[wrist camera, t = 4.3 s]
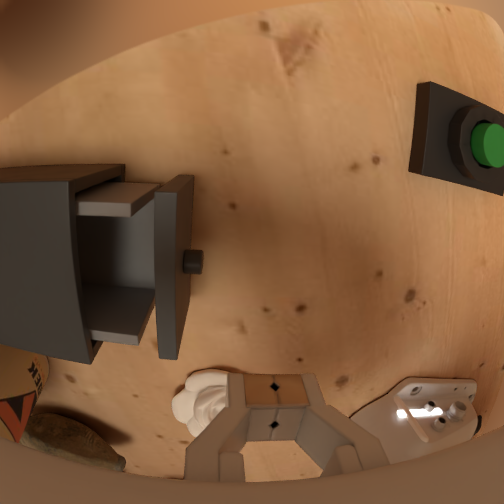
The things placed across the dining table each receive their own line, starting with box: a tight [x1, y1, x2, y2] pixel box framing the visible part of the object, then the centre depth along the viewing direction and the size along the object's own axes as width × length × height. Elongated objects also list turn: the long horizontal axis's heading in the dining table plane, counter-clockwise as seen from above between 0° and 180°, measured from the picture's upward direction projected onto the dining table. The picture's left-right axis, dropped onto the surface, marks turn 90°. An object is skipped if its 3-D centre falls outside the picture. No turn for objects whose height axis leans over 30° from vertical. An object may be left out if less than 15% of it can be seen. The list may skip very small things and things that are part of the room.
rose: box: [172, 369, 230, 437], centre depth 29 cm, size 10×4×10 cm
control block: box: [409, 81, 504, 196], centre depth 22 cm, size 11×8×4 cm
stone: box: [19, 413, 126, 472], centre depth 29 cm, size 17×9×8 cm
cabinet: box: [0, 164, 125, 365], centre depth 20 cm, size 15×12×10 cm
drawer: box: [75, 175, 203, 360], centre depth 20 cm, size 15×10×8 cm
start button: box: [470, 123, 504, 168], centre depth 20 cm, size 4×4×2 cm
